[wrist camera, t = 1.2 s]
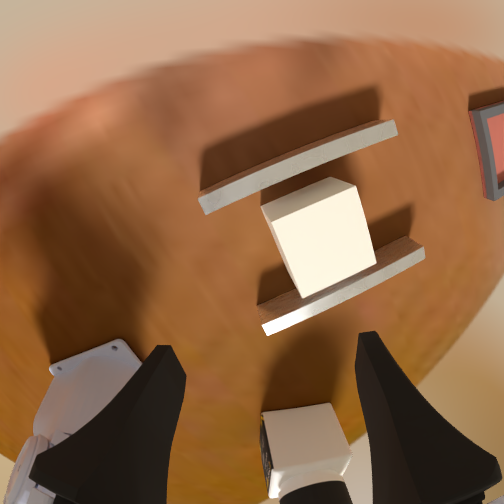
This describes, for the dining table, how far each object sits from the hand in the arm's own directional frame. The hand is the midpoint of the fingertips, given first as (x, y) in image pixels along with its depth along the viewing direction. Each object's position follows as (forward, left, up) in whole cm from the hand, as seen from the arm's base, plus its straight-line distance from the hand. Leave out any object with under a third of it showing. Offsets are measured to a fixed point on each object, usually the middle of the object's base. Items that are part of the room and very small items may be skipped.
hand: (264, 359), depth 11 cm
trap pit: (+26, 0, -10) cm, 28 cm away
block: (+5, 0, -10) cm, 11 cm away
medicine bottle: (-3, -20, -10) cm, 22 cm away
